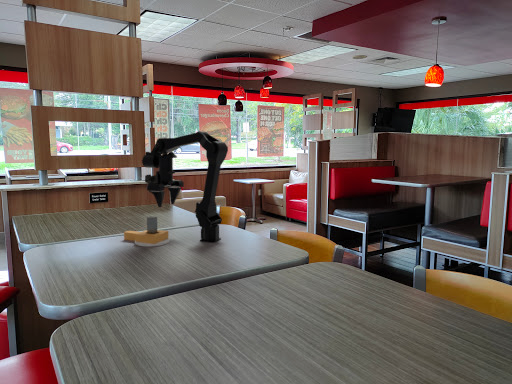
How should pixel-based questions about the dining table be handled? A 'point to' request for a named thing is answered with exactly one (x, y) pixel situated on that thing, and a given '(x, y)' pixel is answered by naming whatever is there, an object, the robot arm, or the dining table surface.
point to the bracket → (147, 238)
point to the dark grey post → (151, 225)
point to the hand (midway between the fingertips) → (166, 205)
